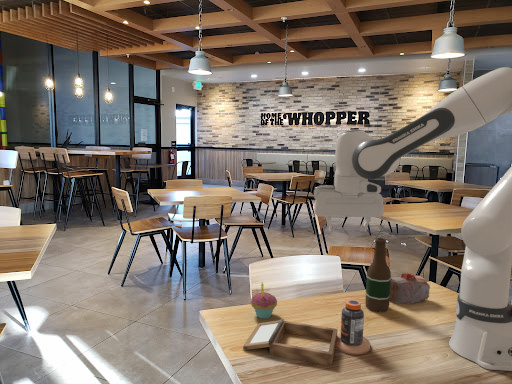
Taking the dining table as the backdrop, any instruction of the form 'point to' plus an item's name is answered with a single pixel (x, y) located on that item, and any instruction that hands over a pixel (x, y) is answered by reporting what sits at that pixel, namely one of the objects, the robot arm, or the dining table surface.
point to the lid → (260, 335)
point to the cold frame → (302, 352)
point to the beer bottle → (378, 280)
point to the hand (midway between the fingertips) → (347, 231)
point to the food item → (408, 289)
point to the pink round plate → (352, 349)
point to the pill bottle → (352, 323)
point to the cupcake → (263, 304)
